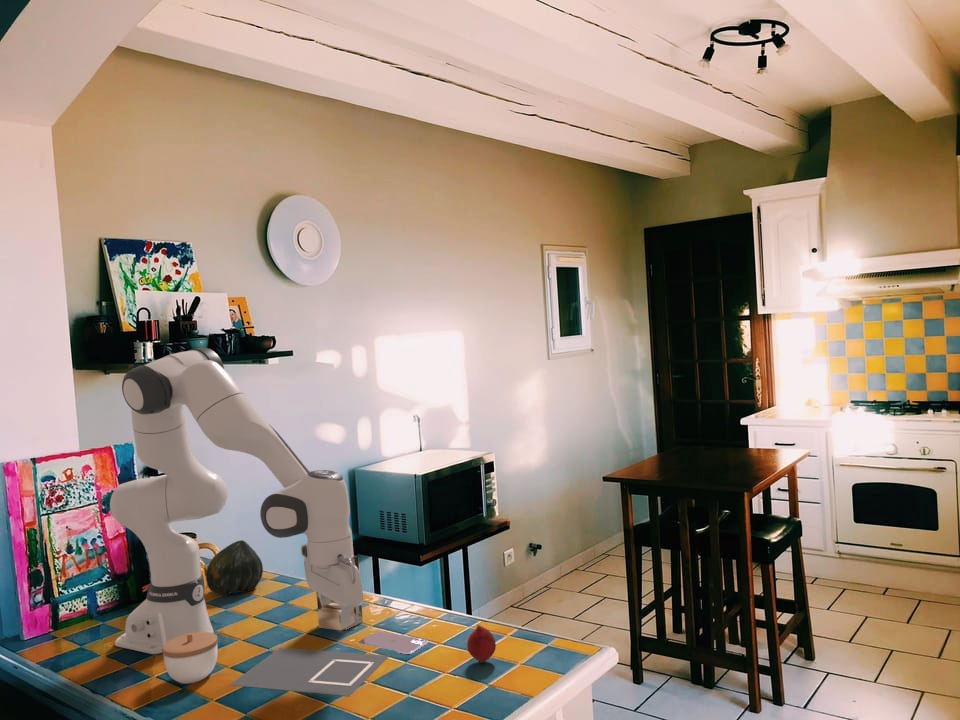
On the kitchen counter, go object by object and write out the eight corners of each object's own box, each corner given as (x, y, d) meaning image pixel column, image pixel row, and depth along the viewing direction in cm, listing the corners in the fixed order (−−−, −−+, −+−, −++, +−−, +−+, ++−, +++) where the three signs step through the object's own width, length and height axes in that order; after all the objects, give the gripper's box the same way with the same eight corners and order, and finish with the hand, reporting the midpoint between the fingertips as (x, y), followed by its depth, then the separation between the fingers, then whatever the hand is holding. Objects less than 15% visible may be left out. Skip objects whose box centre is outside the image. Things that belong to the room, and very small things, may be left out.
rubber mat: (229, 686, 151) (229, 684, 151) (280, 649, 168) (280, 647, 168) (349, 698, 142) (349, 695, 142) (389, 657, 160) (389, 655, 160)
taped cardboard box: (319, 627, 151) (317, 609, 151) (333, 619, 155) (331, 601, 155) (340, 630, 149) (339, 611, 149) (354, 622, 153) (353, 604, 153)
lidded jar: (189, 694, 149) (185, 648, 149) (154, 685, 154) (150, 640, 154) (231, 671, 158) (227, 627, 158) (196, 663, 164) (193, 621, 163)
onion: (500, 657, 156) (497, 619, 156) (491, 669, 150) (488, 630, 150) (474, 655, 158) (471, 617, 157) (464, 667, 152) (461, 628, 152)
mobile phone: (376, 629, 174) (429, 638, 166) (376, 633, 174) (430, 643, 166) (355, 642, 168) (409, 652, 160) (355, 646, 168) (409, 657, 160)
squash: (192, 574, 212) (209, 538, 206) (239, 561, 224) (256, 527, 217) (213, 614, 206) (232, 579, 199) (261, 599, 217) (279, 565, 210)
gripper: (368, 557, 145) (373, 627, 145) (325, 539, 162) (330, 602, 162) (338, 564, 141) (343, 637, 142) (297, 545, 158) (302, 610, 158)
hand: (336, 618), depth 152 cm, fingers closed on taped cardboard box, 7 cm apart
